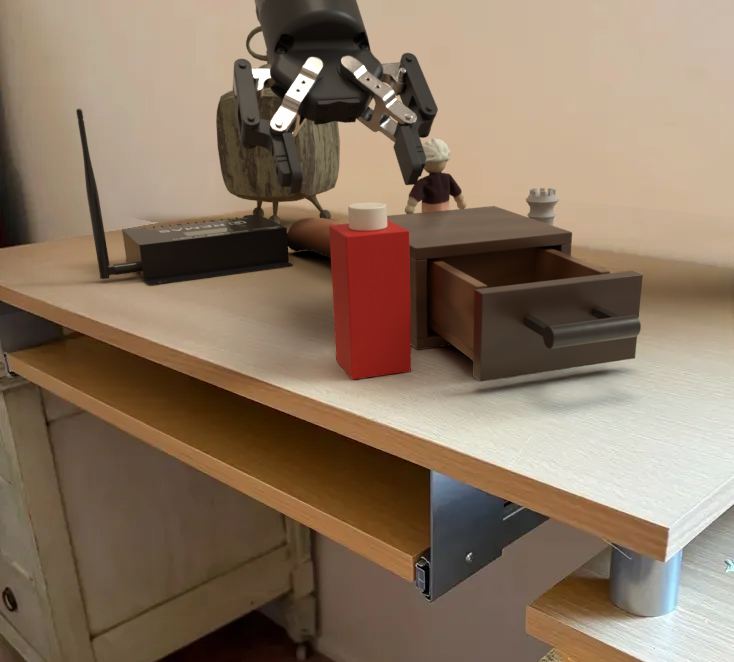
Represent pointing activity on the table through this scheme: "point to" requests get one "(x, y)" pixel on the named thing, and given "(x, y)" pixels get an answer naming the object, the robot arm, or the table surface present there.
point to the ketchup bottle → (371, 292)
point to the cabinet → (465, 249)
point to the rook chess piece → (542, 205)
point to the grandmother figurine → (435, 182)
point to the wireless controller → (187, 243)
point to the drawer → (532, 311)
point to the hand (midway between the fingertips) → (356, 182)
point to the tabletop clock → (255, 167)
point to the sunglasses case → (311, 235)
